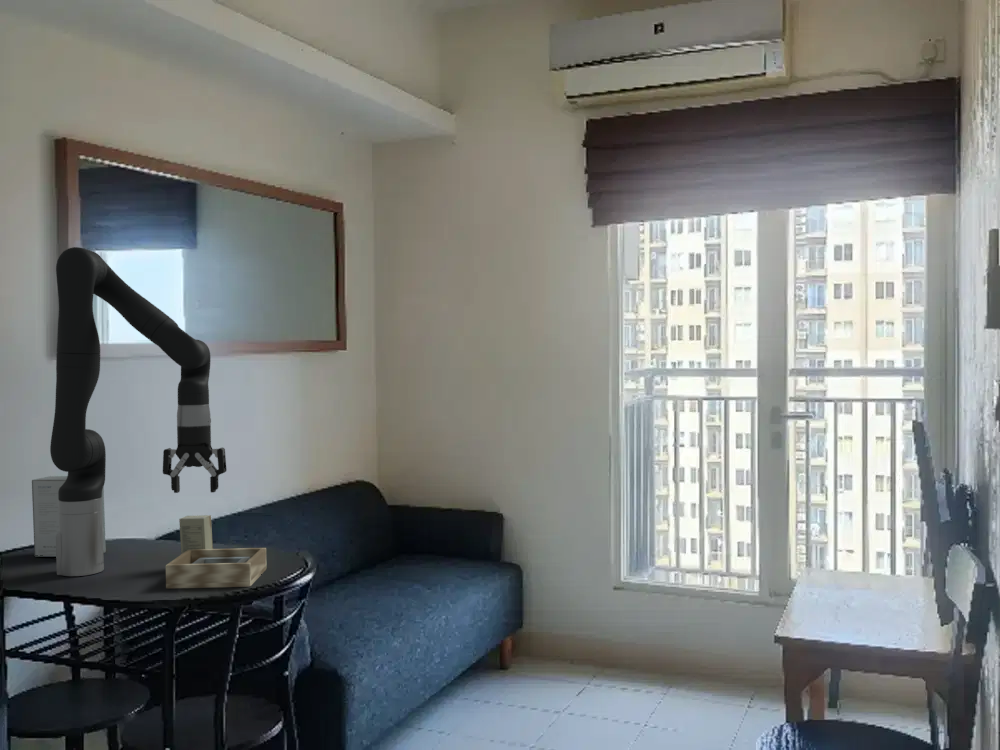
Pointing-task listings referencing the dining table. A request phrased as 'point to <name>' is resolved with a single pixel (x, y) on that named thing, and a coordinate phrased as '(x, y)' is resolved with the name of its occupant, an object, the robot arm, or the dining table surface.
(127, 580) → the dining table surface
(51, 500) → the hard drive box
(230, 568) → the walled box
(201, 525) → the skincare box
